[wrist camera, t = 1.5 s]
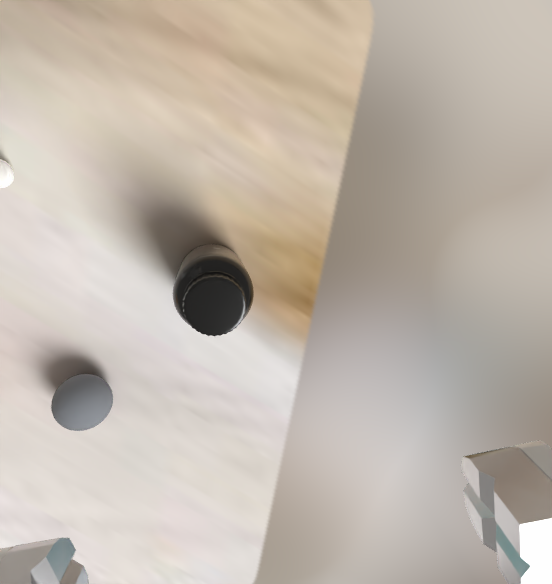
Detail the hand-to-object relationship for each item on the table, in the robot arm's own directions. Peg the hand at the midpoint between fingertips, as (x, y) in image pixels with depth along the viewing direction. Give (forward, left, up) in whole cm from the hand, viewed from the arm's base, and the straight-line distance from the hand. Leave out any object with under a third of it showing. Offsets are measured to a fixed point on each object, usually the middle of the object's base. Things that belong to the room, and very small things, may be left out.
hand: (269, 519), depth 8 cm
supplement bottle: (0, -2, -33) cm, 33 cm away
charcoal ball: (-6, -19, -30) cm, 36 cm away
